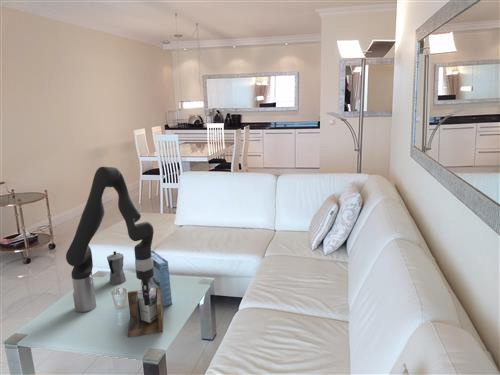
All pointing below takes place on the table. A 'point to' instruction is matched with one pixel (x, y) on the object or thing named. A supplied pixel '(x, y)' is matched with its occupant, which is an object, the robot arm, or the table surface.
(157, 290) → the bookshelf
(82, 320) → the table surface
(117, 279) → the coffeepot
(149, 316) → the syrup box
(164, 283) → the gum box
